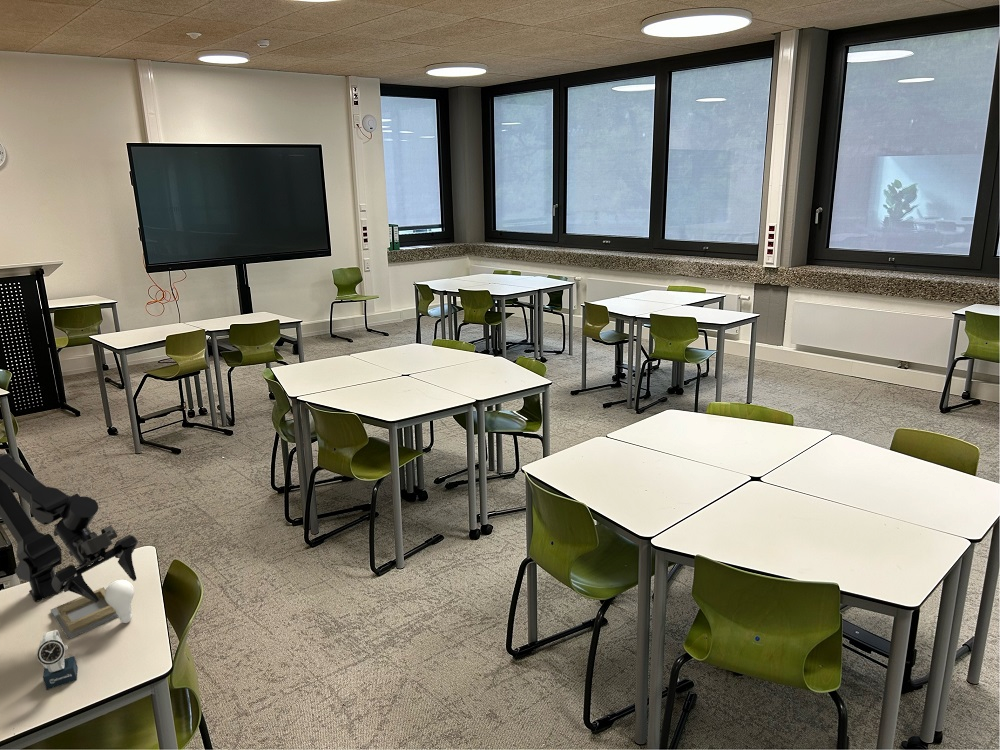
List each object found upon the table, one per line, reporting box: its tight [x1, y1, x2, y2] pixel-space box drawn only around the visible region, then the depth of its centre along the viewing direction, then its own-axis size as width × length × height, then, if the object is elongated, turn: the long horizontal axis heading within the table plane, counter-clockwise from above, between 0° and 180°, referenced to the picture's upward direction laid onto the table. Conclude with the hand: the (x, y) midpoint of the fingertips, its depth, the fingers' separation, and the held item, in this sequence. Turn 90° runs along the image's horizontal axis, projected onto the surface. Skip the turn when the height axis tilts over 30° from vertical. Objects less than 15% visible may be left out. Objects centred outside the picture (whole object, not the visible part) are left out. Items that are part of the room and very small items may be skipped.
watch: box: [36, 629, 79, 690], centre depth 148 cm, size 6×8×11 cm
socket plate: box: [50, 587, 119, 640], centre depth 171 cm, size 15×12×3 cm
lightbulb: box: [104, 579, 135, 624], centre depth 165 cm, size 6×6×11 cm
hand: (117, 590), depth 164 cm, fingers open, 9 cm apart
